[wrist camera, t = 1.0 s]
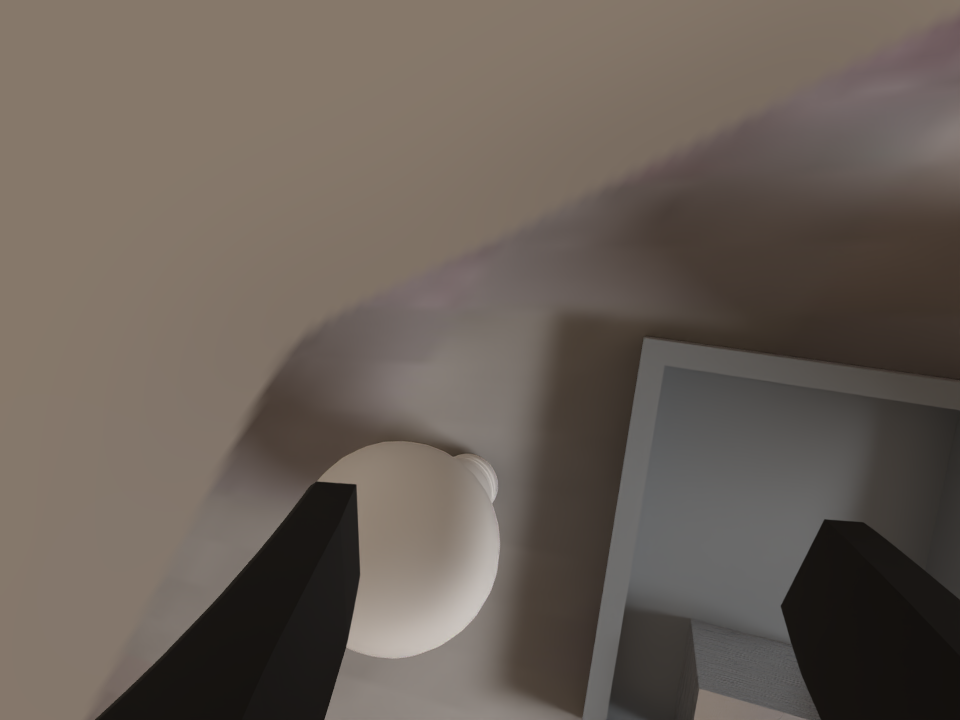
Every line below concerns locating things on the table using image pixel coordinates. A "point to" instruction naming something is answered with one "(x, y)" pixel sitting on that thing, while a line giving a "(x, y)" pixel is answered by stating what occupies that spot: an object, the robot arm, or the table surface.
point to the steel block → (740, 678)
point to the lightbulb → (419, 544)
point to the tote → (758, 499)
